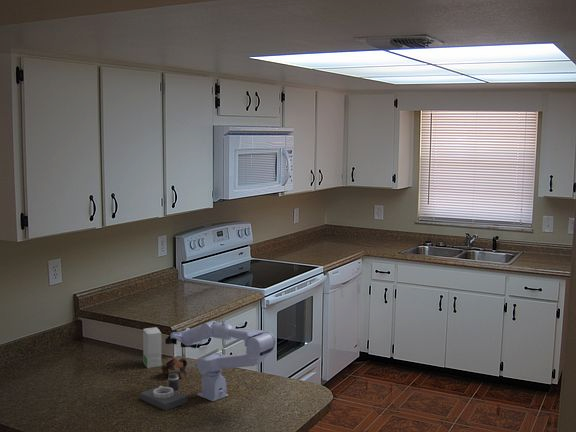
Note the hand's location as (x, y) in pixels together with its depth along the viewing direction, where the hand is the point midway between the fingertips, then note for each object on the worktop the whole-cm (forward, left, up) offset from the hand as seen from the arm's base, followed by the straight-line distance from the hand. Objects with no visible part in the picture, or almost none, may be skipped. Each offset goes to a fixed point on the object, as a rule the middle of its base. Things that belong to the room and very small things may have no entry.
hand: (173, 343), depth 270 cm
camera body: (-11, +14, -17) cm, 25 cm away
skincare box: (+26, -7, -17) cm, 32 cm away
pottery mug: (+7, -6, -17) cm, 20 cm away
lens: (-4, +4, -17) cm, 18 cm away
